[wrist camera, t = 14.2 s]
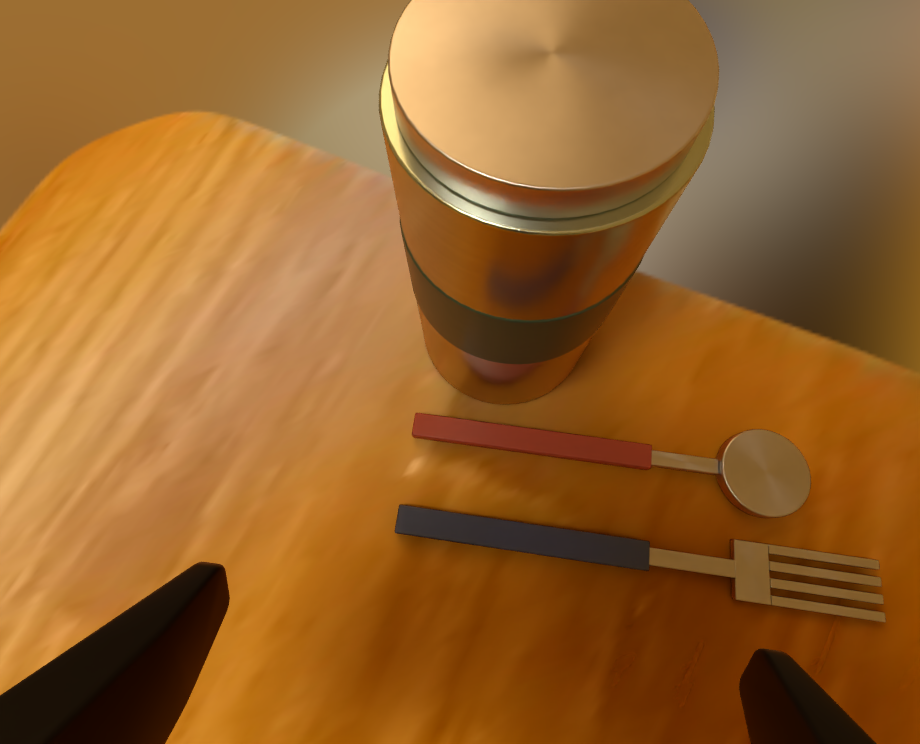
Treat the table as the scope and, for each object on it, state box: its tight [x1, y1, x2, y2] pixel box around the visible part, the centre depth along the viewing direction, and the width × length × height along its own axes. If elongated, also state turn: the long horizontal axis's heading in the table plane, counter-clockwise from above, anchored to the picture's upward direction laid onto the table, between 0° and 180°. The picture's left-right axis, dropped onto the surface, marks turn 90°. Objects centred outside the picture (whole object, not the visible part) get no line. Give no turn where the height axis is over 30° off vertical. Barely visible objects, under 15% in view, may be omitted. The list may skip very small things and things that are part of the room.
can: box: [379, 0, 719, 404], centre depth 15 cm, size 7×7×12 cm
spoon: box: [412, 413, 811, 518], centre depth 19 cm, size 15×3×1 cm, turn 82°
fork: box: [395, 505, 886, 622], centre depth 18 cm, size 17×2×1 cm, turn 82°
